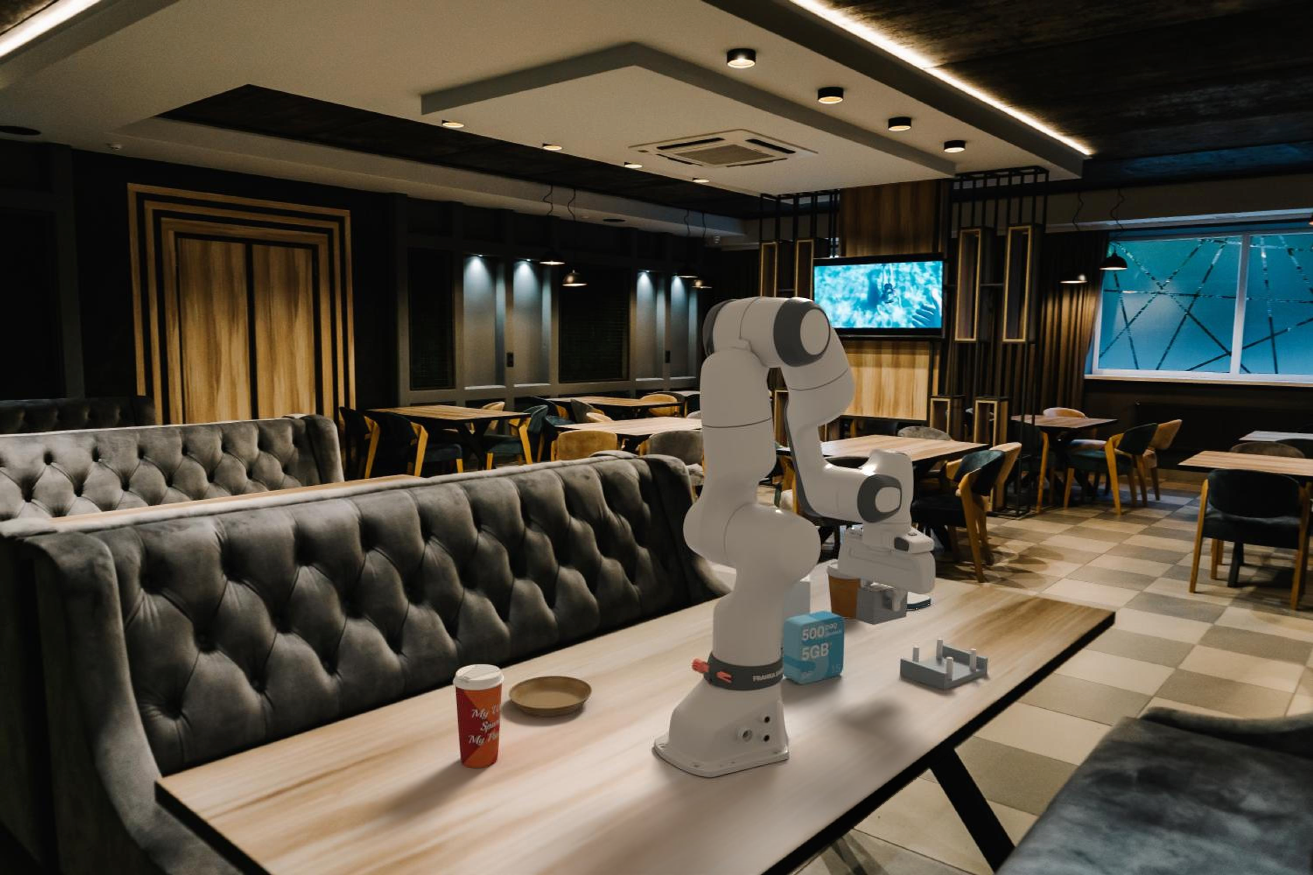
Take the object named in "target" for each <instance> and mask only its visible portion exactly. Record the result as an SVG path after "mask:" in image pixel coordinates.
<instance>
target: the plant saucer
mask: <svg viewBox="0 0 1313 875" xmlns="http://www.w3.org/2000/svg"><path fill="white" fill-rule="evenodd" d="M592 692H593V688H592V685H590V684H589V683H588V682H586V681H584V680H583V679H580V678H576V677H573V676H567V675H545V676H544V675H543V676H537V677H536V676H535V677H532V678H528V679H524V680H522V681H520V682H517V683H516V684H514V685H513V686H512V687H511V688H509V691H508V697H509V698H510V700H511V701H512V702H513V703H514V705H516V706H517V707H518V708H519V709H520V710H522V711H524V712H525V713H527V714H530V715H533V716H539V717H557V716H558V717H559V716H564V715H567V714H570V713H572V712H574V711H576V710H578V709H579V708H581V707H582V705H583V704H584V703H585V702H586V701H587V700H588V699H589V698H590V696H591V695H592Z"/></svg>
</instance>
